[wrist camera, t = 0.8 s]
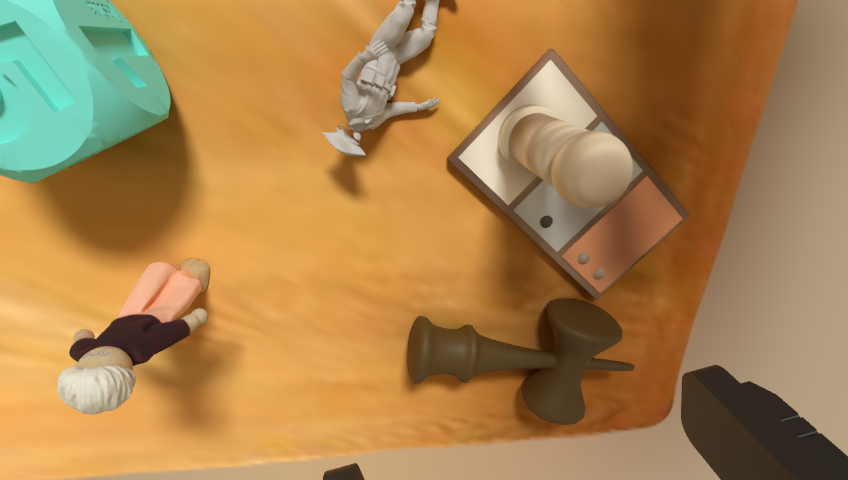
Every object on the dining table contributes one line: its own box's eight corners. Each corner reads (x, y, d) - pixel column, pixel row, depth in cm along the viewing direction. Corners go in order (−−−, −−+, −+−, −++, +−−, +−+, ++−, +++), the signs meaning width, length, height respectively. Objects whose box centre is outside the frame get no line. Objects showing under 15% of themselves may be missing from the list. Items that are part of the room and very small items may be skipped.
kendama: (417, 276, 37) (636, 302, 41) (397, 370, 41) (599, 385, 45) (425, 319, 32) (677, 343, 35) (401, 422, 35) (631, 435, 39)
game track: (549, 49, 31) (555, 49, 30) (683, 212, 38) (691, 216, 37) (446, 158, 33) (449, 161, 32) (591, 294, 40) (597, 300, 39)
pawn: (531, 90, 31) (620, 114, 21) (570, 134, 33) (669, 176, 22) (485, 139, 32) (549, 184, 22) (525, 179, 33) (602, 239, 23)
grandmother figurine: (208, 239, 33) (131, 346, 21) (234, 283, 34) (175, 405, 23) (106, 275, 33) (-26, 403, 21) (137, 318, 34) (29, 458, 23)
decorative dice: (189, 107, 29) (137, 130, 22) (79, 162, 29) (-8, 202, 22) (101, -25, 26) (5, -51, 19) (-21, 38, 26) (-164, 37, 19)
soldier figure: (480, 15, 31) (419, 184, 31) (419, 9, 33) (362, 167, 33) (432, -74, 24) (353, 145, 24) (359, -73, 26) (287, 127, 26)
